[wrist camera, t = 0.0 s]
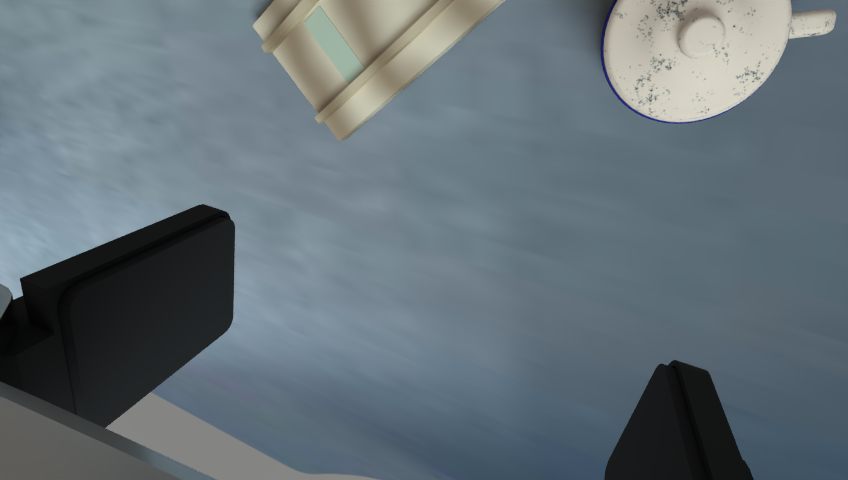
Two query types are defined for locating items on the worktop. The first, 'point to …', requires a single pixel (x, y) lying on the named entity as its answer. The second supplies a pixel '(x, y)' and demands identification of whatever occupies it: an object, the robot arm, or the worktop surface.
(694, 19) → the teacup with lid
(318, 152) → the worktop surface
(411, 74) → the birch rail board
